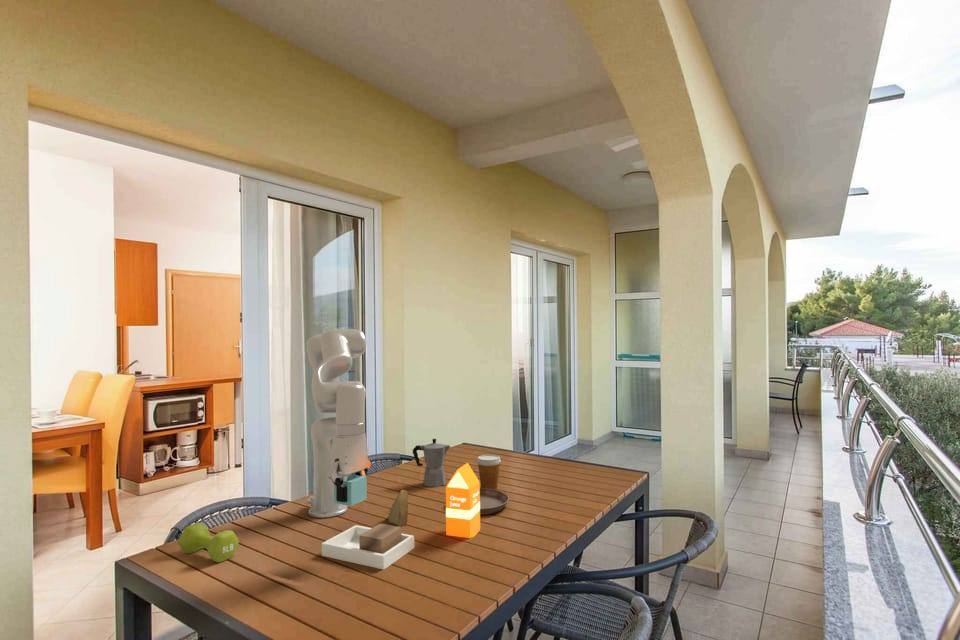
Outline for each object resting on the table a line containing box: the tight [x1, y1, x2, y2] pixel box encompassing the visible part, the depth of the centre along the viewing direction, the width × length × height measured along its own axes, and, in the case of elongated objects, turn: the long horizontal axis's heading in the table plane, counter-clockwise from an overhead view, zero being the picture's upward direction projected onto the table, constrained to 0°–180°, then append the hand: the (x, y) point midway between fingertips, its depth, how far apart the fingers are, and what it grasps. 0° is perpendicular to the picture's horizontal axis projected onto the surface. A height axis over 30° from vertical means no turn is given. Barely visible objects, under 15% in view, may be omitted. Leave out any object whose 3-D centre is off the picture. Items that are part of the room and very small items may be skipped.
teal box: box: [334, 474, 368, 507], centre depth 131 cm, size 6×6×6 cm
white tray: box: [321, 524, 415, 571], centre depth 132 cm, size 20×14×4 cm
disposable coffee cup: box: [476, 454, 502, 490], centre depth 190 cm, size 10×10×12 cm
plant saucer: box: [480, 487, 510, 516], centre depth 170 cm, size 21×21×3 cm
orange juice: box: [445, 462, 481, 539], centre depth 146 cm, size 8×9×20 cm
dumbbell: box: [178, 522, 240, 563], centre depth 133 cm, size 16×8×7 cm, turn 62°
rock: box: [387, 488, 409, 528], centre depth 154 cm, size 11×9×10 cm
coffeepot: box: [412, 438, 451, 488], centre depth 198 cm, size 15×9×18 cm, turn 102°
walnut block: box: [360, 523, 402, 554], centre depth 130 cm, size 7×9×6 cm
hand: (350, 497), depth 131 cm, fingers closed on teal box, 5 cm apart
